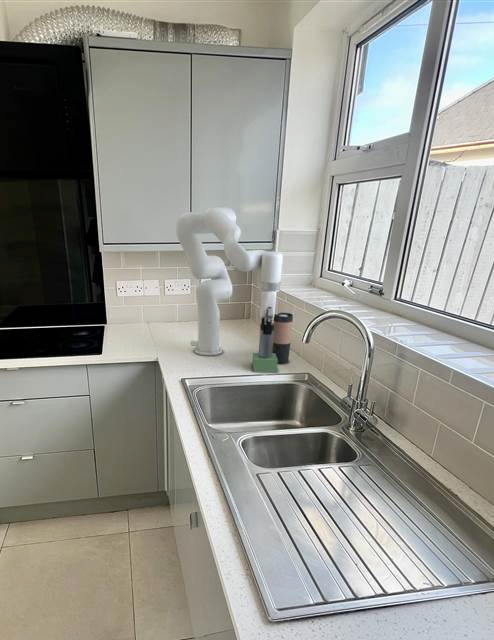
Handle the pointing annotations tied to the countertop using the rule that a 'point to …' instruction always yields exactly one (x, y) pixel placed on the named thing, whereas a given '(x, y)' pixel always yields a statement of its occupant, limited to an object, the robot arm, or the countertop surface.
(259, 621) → the countertop surface
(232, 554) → the countertop surface
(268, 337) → the steel flask
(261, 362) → the green block
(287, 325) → the travel mug
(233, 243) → the robot arm
